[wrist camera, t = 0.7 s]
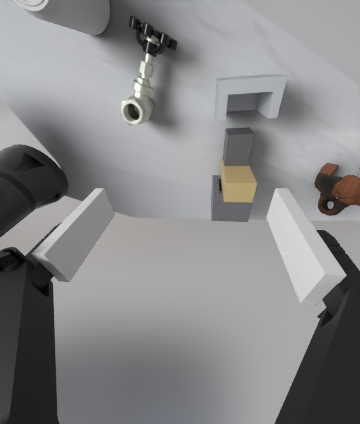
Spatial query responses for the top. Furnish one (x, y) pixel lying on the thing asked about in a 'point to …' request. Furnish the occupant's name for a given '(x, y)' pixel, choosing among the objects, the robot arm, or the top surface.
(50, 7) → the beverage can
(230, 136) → the two-tone stepped block
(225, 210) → the gray block
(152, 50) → the valve
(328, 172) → the rusty metal ring bracket
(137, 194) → the top surface
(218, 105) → the socket
